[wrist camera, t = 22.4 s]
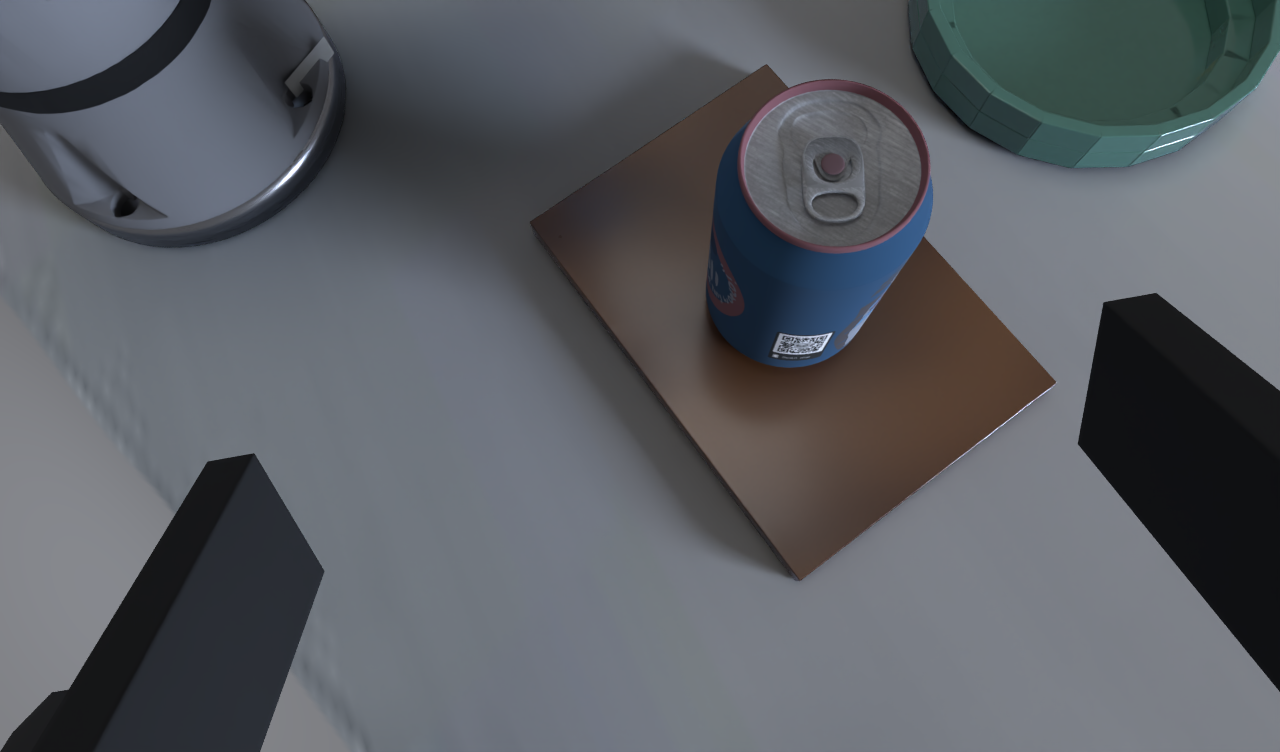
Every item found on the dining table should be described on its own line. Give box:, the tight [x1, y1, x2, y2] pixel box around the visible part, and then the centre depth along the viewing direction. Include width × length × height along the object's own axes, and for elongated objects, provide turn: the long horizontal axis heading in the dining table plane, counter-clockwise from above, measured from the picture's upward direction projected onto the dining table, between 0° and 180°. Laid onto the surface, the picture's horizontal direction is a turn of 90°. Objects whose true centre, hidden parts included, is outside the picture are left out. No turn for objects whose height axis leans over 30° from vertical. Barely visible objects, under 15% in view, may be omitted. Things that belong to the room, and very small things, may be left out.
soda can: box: [706, 79, 933, 368], centre depth 29 cm, size 7×7×12 cm
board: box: [530, 64, 1057, 581], centre depth 36 cm, size 20×14×1 cm
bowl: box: [908, 0, 1280, 168], centre depth 38 cm, size 16×16×3 cm
